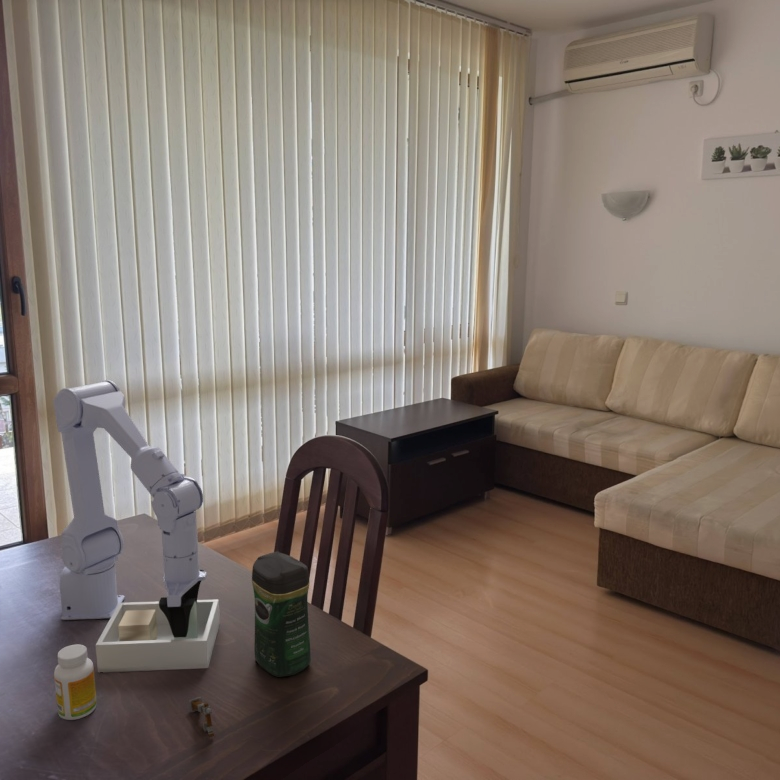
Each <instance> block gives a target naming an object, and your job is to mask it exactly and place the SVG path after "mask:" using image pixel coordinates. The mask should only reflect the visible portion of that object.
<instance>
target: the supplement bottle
mask: <svg viewBox="0 0 780 780" xmlns="http://www.w3.org/2000/svg"><path fill="white" fill-rule="evenodd" d="M57 663H58V664H57V665H56V666H55V667H54V673H53V677H54V687H55V697H56V707H57V708H56V709H57V714H58V716H59V717H60V718H61V719H62V720H67V721H74V720H79V719H83V718H84V717H87V716H89V715H90V714H92V713H93V712H94V711H95V709H96V707H97V704H98V701H97V692H96V680H95V669H94V663H93V661H92V659H90V658H89V657H88V648H87V646H85V645H83V644H80V643H79V644H77V643H75V644H72V645H71V644H70V645H67V646H65V647H63V648H61V649H60V650H59V651H58V653H57Z"/></svg>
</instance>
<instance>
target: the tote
mask: <svg viewBox="0 0 780 780" xmlns="http://www.w3.org/2000/svg"><path fill="white" fill-rule="evenodd" d="M159 601H160V600H159ZM159 601H132V602H131V601H130V602H122V603H119V604H118V606H117V607H116V609H115V611H114V613H113V615H112V616H111V618H109V620H108V622H107V624H106V625H105V627H104V629H103V630H102V633H101V635H100V636H99V638H98V640H97V641H96V644H95V654H96V655H95V656H96V666H97V667H96V668H97V673H98V674H100V672H103V673H120V672H121V673H122V672H123V673H124V672H145V671H167V670H168V671H169V670H170V671H171V670H191V669H193V670H194V669H208V668H209V667H210V662H211V659H212V654H213V651H214V647H215V643H216V640H217V636H218V632H219V628H220V625H221V623H220V621H221V620H220V618H221V617H220V603H219V602H220V600H219V599H217V598H216V599H197V605H196V609H197V628H198V638H194V639H174V636H173V634H172V631H171V628H170V625H169V622H168V620H167V618H166V616H165V614H164V613H163V612H162V611H161V609H160V607H159ZM130 610H156V623H157V637H156V640H143V641H119V629H118V625H119V623H120V622H121V620H122V618H123V616H124V614H125V612H126V611H130Z"/></svg>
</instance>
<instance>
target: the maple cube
mask: <svg viewBox="0 0 780 780" xmlns="http://www.w3.org/2000/svg"><path fill="white" fill-rule="evenodd" d="M118 629H119V641H143V640H156V637H157V623H156V610H130V611H126V612H125V614H124V616H123V618H122V620H121V622H120V623H119V625H118Z"/></svg>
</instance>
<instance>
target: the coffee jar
mask: <svg viewBox="0 0 780 780" xmlns="http://www.w3.org/2000/svg"><path fill="white" fill-rule="evenodd" d="M310 582H311V581H310V575H309V568H308V566H307V565H306V564H305V563H303V562H302V561H300V560H298V559H297V558H295V557H294V556H292V555H288V554H286V553H283V552H280V551H277V550H276V551H273V552H270V553H267V554H263V555H260V556H258V557H257V558H256V560H255V561H254V563H253V565H252V571H251V583H252V588H253V595H254V643H253V645H254V659H255V661H256V662H257V663H258V665H259V666H260V667H261V668H262V669H263V670H265V672H267V673H268V674H270V675H272V676H273V677H274V676H275V677H277V678H278V677H289V676H294V675H297V674H298V673H301V672H302V671H304V670H305V669H306V668H307V667H308V666H309V665H310V664H311V658H312V656H311V640H310V627H309V610H308V596H309V589H310Z"/></svg>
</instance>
